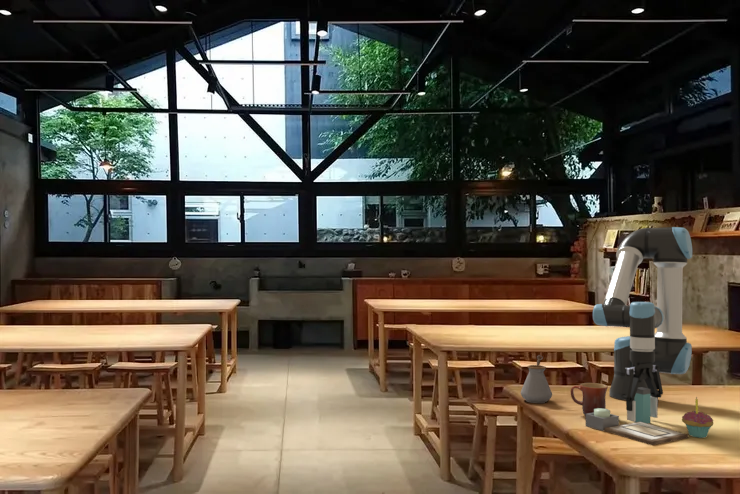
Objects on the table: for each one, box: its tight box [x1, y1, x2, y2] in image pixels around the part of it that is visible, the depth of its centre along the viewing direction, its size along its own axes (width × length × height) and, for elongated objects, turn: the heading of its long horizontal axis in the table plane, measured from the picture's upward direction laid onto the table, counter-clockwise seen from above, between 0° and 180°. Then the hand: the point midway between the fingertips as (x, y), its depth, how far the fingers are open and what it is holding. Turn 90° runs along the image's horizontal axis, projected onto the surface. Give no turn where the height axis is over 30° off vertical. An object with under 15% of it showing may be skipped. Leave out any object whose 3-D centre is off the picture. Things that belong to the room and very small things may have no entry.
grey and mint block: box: [634, 387, 652, 424], centre depth 212 cm, size 3×3×11 cm
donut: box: [681, 396, 714, 439], centre depth 197 cm, size 9×8×12 cm
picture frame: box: [604, 422, 689, 446], centre depth 197 cm, size 16×17×1 cm
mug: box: [570, 382, 608, 417], centre depth 221 cm, size 12×9×10 cm
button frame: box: [585, 413, 620, 432], centre depth 206 cm, size 7×7×4 cm
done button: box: [594, 408, 611, 418], centre depth 206 cm, size 5×5×4 cm
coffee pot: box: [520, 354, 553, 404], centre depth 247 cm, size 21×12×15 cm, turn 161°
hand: (642, 418), depth 211 cm, fingers open, 10 cm apart
